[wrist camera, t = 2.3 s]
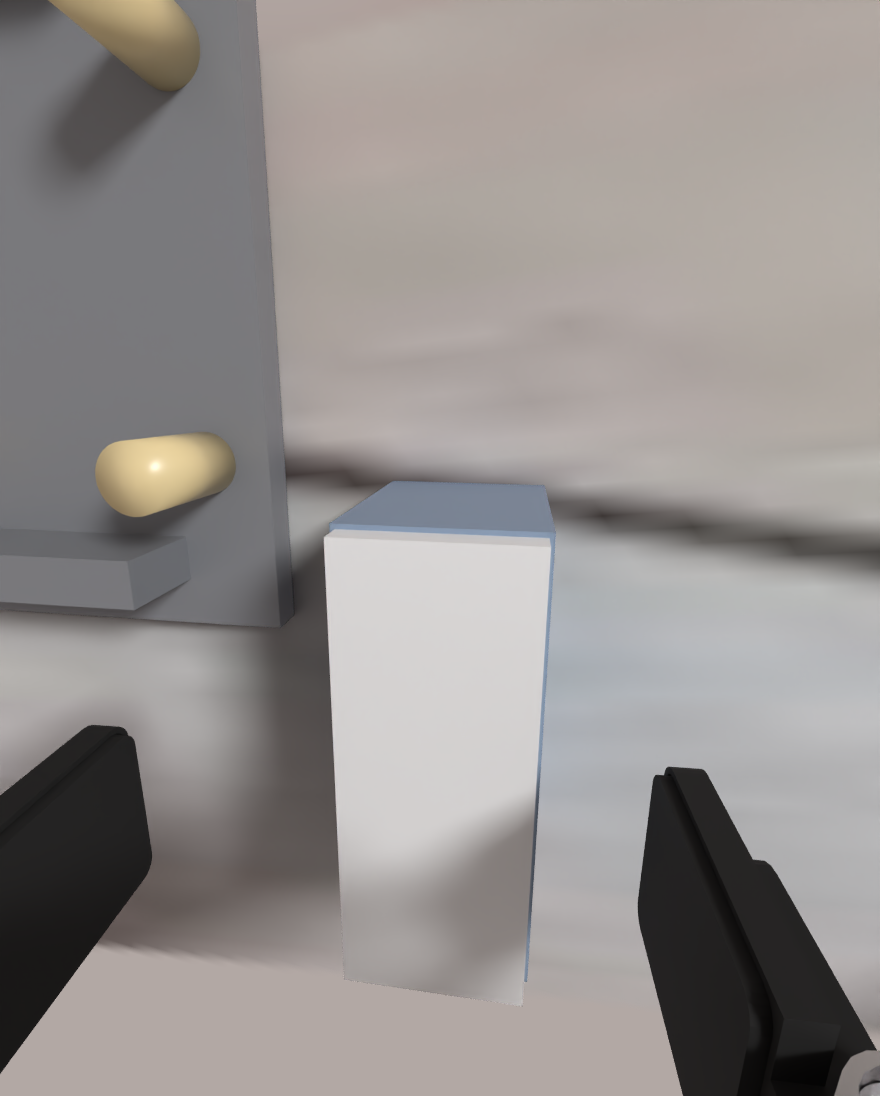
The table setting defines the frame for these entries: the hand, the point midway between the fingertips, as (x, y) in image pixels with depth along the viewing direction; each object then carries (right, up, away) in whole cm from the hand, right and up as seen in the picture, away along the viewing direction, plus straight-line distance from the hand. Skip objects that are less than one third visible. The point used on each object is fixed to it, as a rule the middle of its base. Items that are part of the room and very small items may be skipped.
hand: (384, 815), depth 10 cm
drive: (+2, +2, +6) cm, 7 cm away
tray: (-9, +12, +5) cm, 16 cm away
